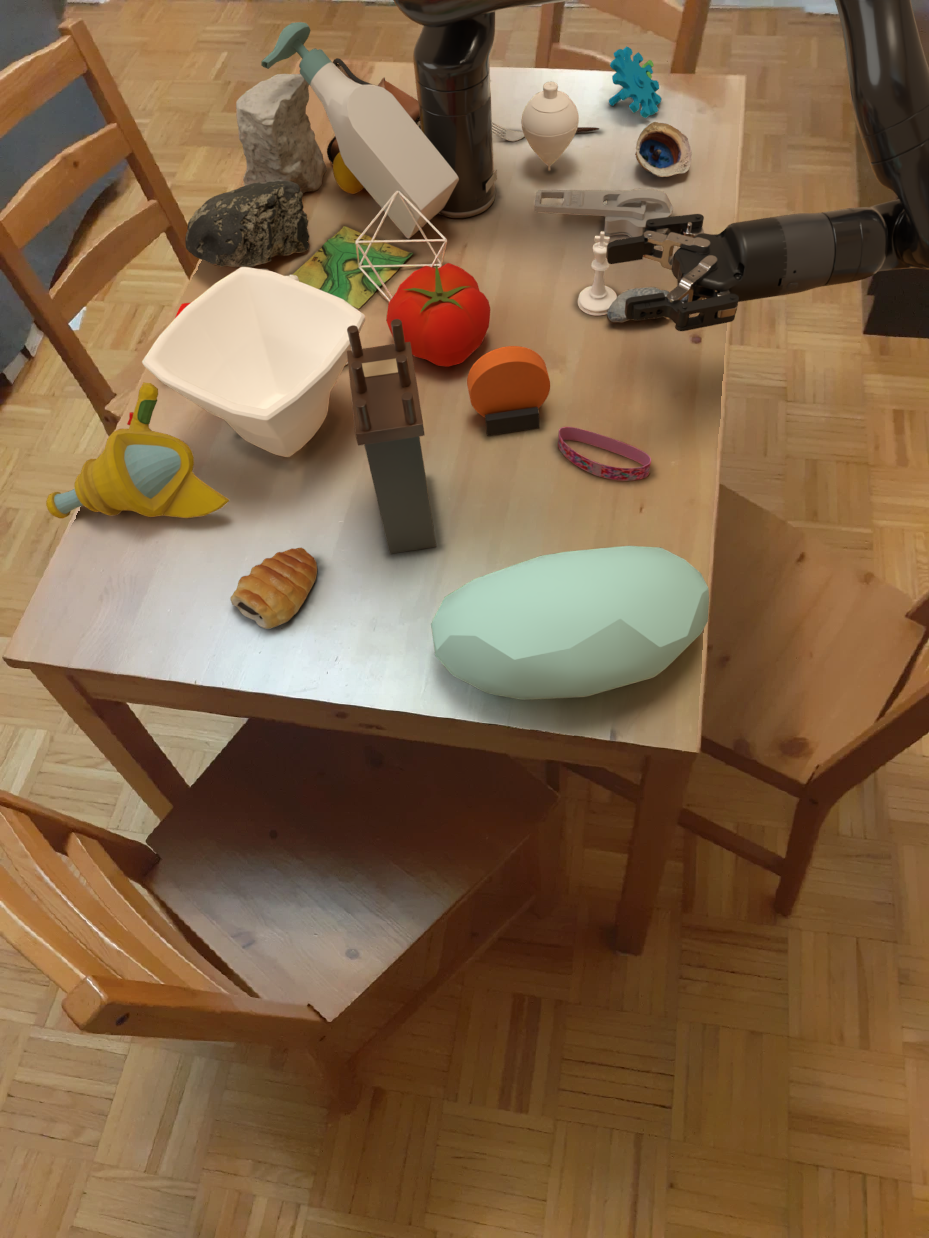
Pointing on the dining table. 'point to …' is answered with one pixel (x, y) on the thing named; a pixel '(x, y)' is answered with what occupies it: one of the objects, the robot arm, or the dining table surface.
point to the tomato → (441, 314)
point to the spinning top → (549, 123)
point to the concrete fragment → (249, 225)
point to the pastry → (276, 587)
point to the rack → (384, 389)
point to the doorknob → (345, 176)
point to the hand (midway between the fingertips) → (616, 281)
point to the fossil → (618, 306)
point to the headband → (606, 444)
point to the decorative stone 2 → (572, 622)
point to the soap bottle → (373, 136)
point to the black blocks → (512, 421)
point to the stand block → (402, 493)
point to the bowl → (258, 355)
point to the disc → (508, 380)
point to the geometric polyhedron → (397, 241)
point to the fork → (518, 135)
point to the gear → (635, 82)
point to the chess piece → (598, 283)
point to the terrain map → (350, 266)
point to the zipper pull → (611, 207)
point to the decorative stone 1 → (279, 133)
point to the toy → (140, 474)
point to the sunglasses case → (402, 97)
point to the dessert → (663, 150)
